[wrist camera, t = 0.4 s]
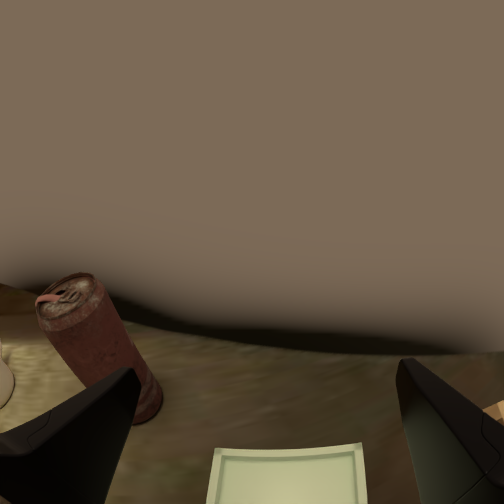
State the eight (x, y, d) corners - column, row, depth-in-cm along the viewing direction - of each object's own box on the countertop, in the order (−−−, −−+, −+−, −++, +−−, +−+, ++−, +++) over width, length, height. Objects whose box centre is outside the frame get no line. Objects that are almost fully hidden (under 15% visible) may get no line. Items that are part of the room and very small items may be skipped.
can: (106, 387, 25) (37, 284, 18) (157, 371, 27) (100, 259, 20) (112, 433, 20) (21, 330, 13) (170, 416, 22) (97, 302, 15)
